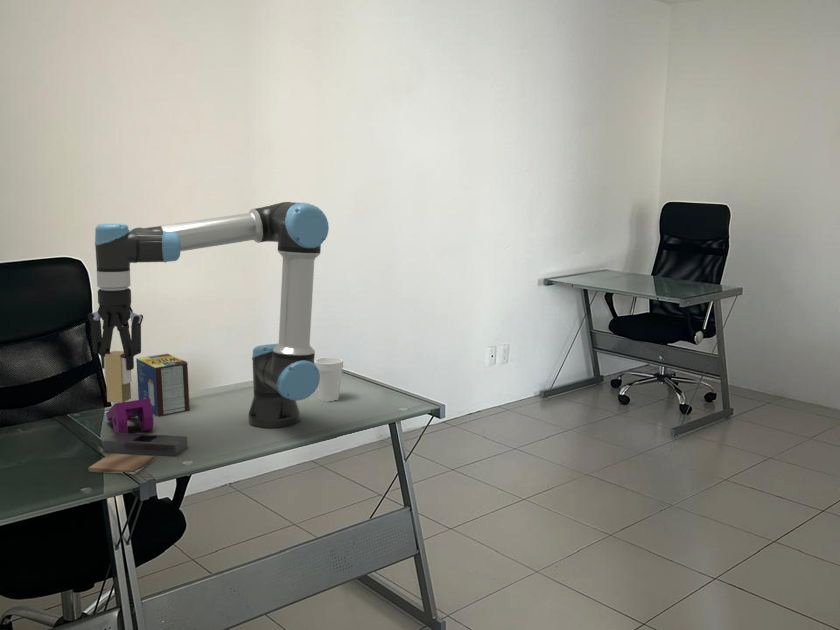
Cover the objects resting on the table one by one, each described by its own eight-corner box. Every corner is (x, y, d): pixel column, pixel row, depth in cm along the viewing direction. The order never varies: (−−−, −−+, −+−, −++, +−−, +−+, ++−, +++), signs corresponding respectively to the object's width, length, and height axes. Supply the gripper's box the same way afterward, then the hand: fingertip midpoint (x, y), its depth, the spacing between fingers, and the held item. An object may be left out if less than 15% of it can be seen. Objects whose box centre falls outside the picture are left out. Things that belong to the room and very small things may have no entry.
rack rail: (187, 447, 206) (187, 436, 206) (175, 456, 199) (175, 445, 199) (117, 442, 209) (117, 432, 209) (103, 451, 202) (102, 440, 202)
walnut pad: (154, 460, 197) (154, 456, 196) (134, 474, 187) (134, 470, 187) (110, 457, 198) (110, 453, 198) (88, 471, 189) (88, 467, 188)
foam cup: (341, 403, 248) (341, 364, 246) (312, 403, 248) (312, 363, 246) (344, 395, 257) (344, 357, 255) (316, 394, 258) (316, 356, 255)
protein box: (170, 399, 250) (167, 353, 248) (190, 410, 239) (188, 362, 236) (137, 405, 244) (135, 357, 241) (157, 417, 232) (154, 367, 229)
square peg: (131, 398, 193) (129, 351, 191) (122, 402, 189) (120, 354, 187) (116, 397, 193) (114, 350, 191) (107, 401, 189) (105, 354, 187)
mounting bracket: (108, 443, 226) (119, 433, 211) (104, 415, 228) (115, 403, 213) (141, 438, 231) (154, 427, 217) (137, 410, 233) (150, 398, 218)
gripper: (154, 287, 189) (158, 380, 192) (90, 284, 191) (95, 376, 195) (138, 291, 181) (142, 388, 185) (72, 288, 184) (77, 383, 188)
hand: (118, 381), depth 190 cm, fingers closed on square peg, 4 cm apart
